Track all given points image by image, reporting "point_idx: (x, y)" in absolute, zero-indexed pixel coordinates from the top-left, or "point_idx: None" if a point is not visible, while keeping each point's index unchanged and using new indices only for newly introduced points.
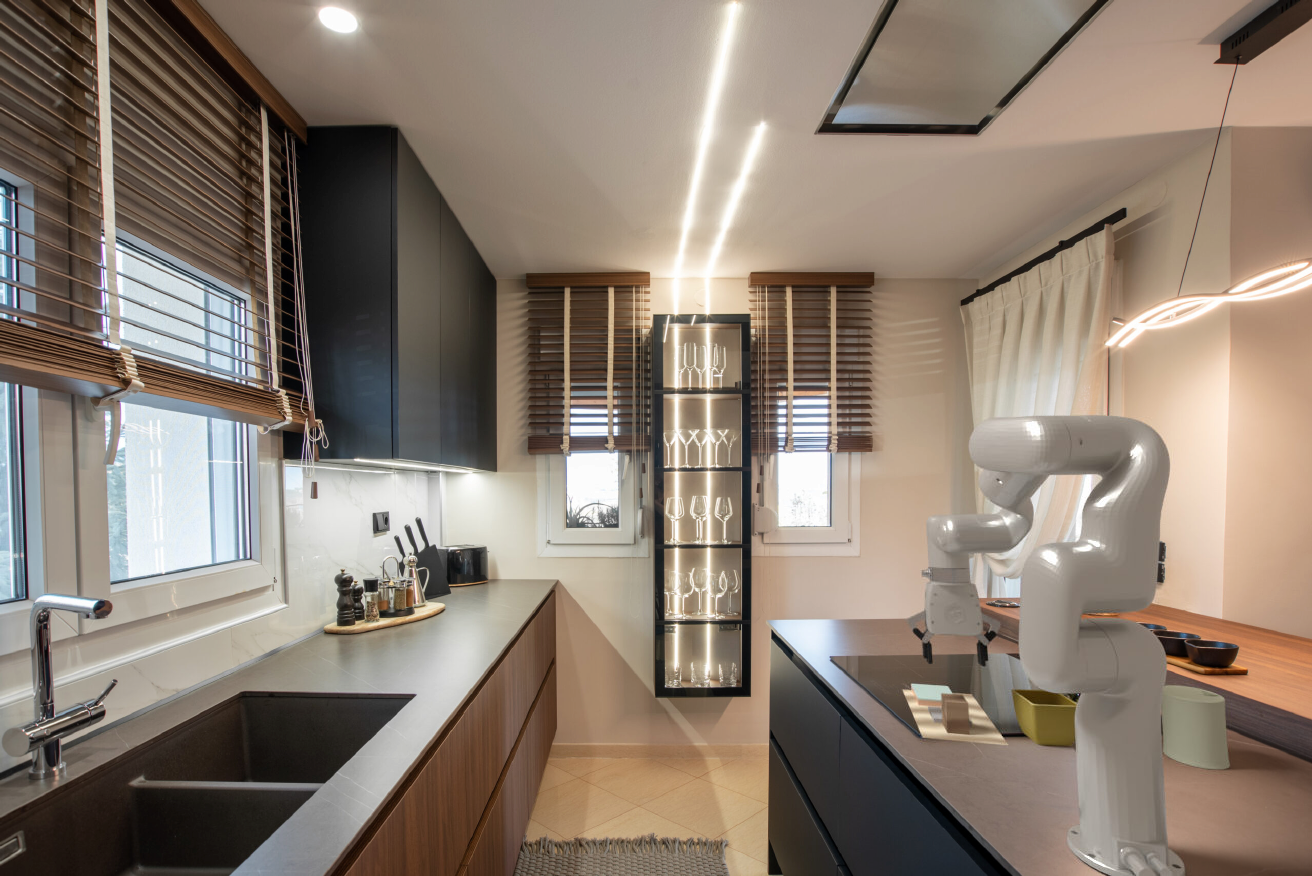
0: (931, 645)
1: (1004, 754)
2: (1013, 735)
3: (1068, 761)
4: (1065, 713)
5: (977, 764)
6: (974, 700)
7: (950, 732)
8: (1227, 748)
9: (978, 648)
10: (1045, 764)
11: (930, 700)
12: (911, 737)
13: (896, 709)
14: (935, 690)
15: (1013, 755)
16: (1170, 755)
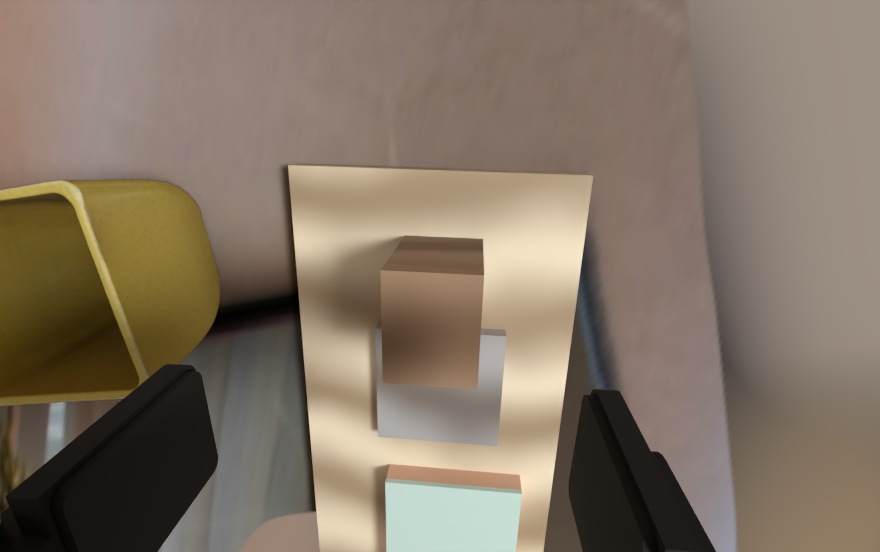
0: (642, 530)
1: (317, 138)
2: (257, 307)
3: (127, 123)
4: None
5: (431, 18)
6: (322, 529)
7: (471, 238)
8: None
9: (121, 528)
10: (200, 79)
11: (478, 486)
12: (612, 228)
13: None
14: None
15: (289, 135)
16: None
